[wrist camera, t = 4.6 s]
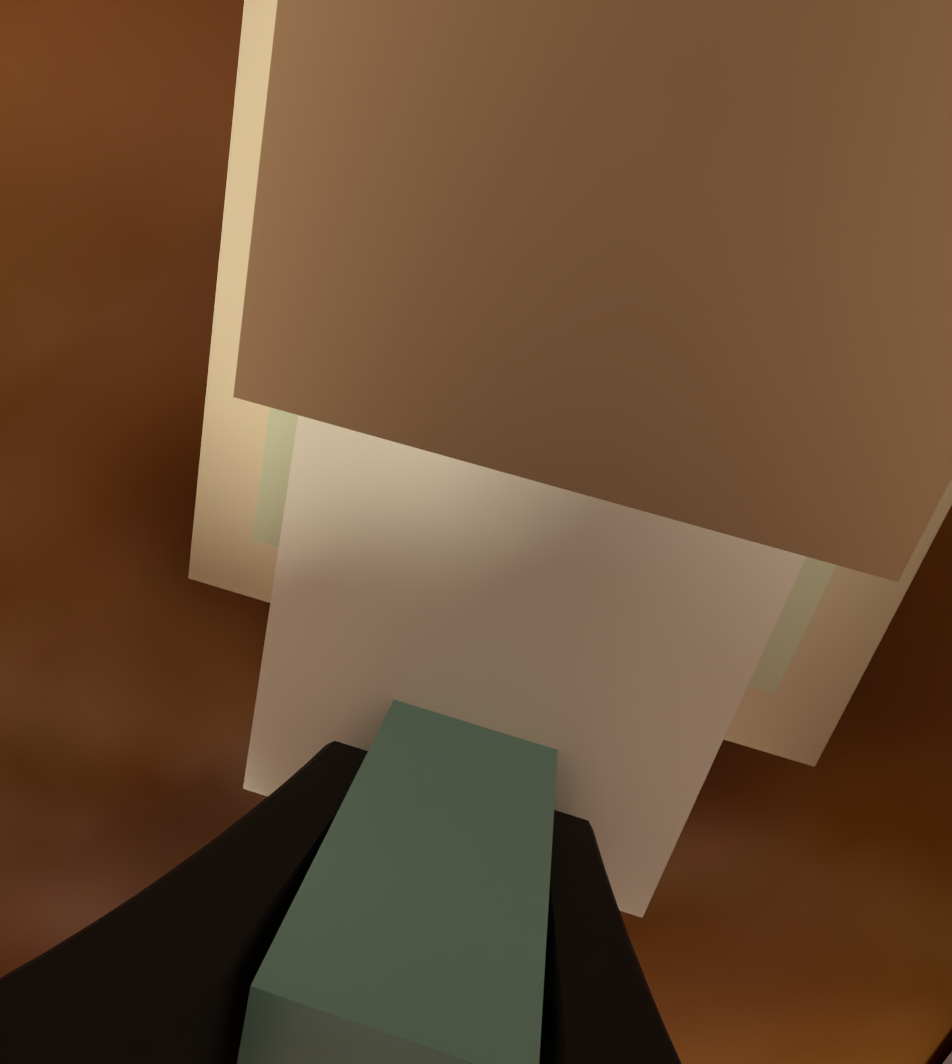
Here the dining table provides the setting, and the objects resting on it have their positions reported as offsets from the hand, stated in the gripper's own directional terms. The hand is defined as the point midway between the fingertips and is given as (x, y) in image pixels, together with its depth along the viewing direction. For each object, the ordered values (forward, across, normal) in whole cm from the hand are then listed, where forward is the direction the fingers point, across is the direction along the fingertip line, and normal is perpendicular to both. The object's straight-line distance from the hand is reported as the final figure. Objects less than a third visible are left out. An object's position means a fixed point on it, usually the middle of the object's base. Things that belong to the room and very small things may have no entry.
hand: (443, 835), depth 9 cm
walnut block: (+1, 0, -8) cm, 8 cm away
